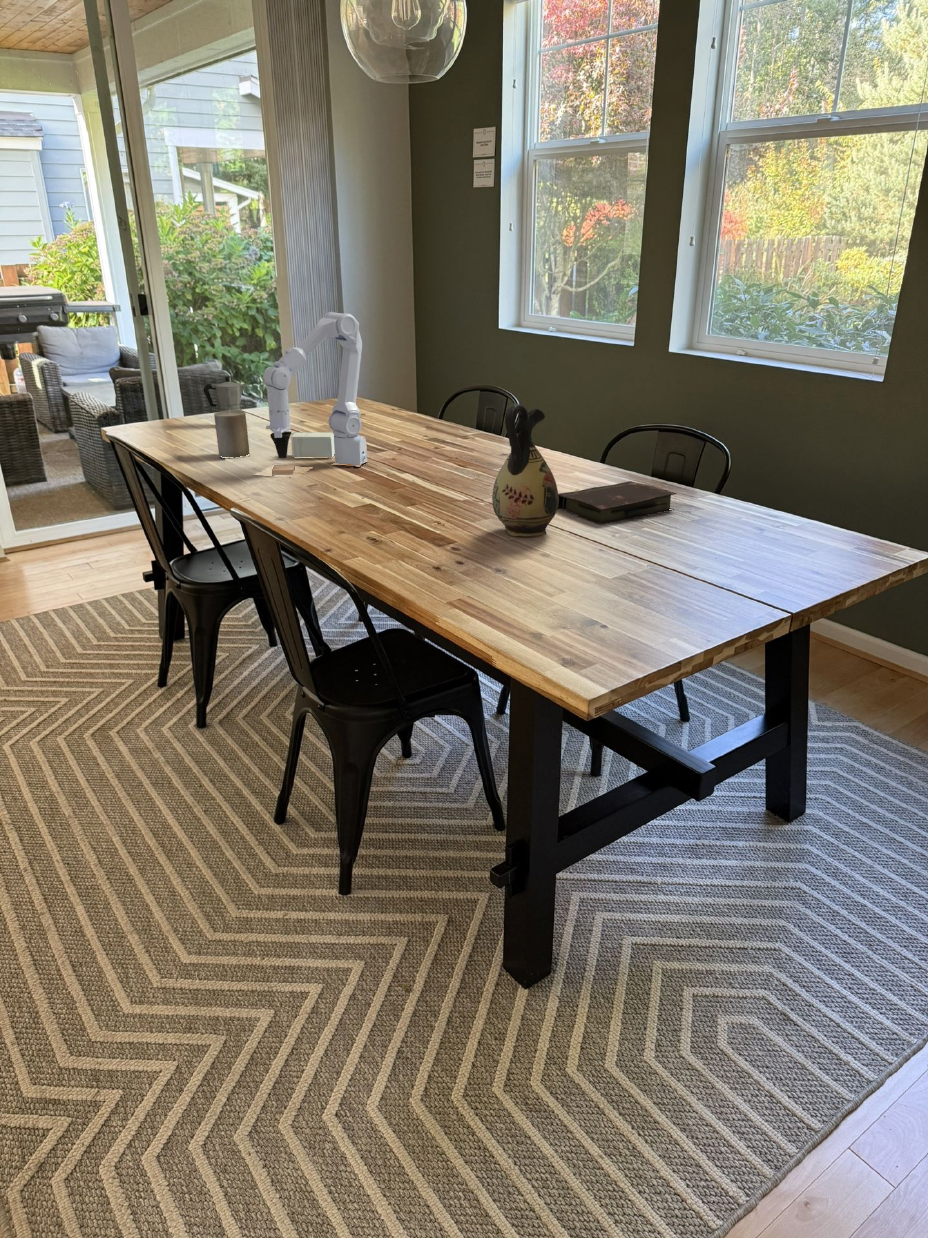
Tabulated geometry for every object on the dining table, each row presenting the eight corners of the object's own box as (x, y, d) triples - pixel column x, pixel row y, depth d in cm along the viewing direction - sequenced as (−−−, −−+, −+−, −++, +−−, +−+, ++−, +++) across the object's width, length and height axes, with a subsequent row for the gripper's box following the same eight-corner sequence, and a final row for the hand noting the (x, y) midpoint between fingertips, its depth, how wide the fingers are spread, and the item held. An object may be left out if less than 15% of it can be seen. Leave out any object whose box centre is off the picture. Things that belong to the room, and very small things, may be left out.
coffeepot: (250, 423, 333) (245, 374, 326) (250, 428, 325) (245, 377, 318) (208, 424, 330) (202, 375, 323) (207, 429, 322) (201, 378, 315)
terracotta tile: (274, 465, 261) (271, 470, 255) (294, 465, 261) (292, 469, 256) (274, 471, 262) (272, 476, 256) (295, 471, 262) (293, 475, 256)
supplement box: (292, 459, 277) (332, 459, 277) (290, 436, 274) (330, 436, 274) (297, 455, 284) (336, 455, 284) (295, 431, 281) (335, 431, 281)
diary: (554, 510, 228) (555, 491, 226) (627, 497, 240) (628, 479, 238) (602, 527, 213) (603, 507, 211) (677, 512, 226) (679, 493, 224)
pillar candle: (254, 453, 286) (249, 406, 280) (244, 459, 277) (239, 411, 271) (225, 452, 287) (219, 405, 281) (214, 459, 278) (208, 411, 272)
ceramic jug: (517, 518, 219) (520, 395, 207) (569, 530, 210) (576, 402, 198) (473, 534, 207) (474, 404, 195) (527, 548, 198) (532, 412, 186)
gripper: (267, 406, 259) (271, 452, 264) (261, 415, 245) (265, 463, 251) (292, 405, 259) (295, 452, 264) (287, 414, 246) (291, 463, 251)
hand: (282, 457), depth 258 cm, fingers closed
